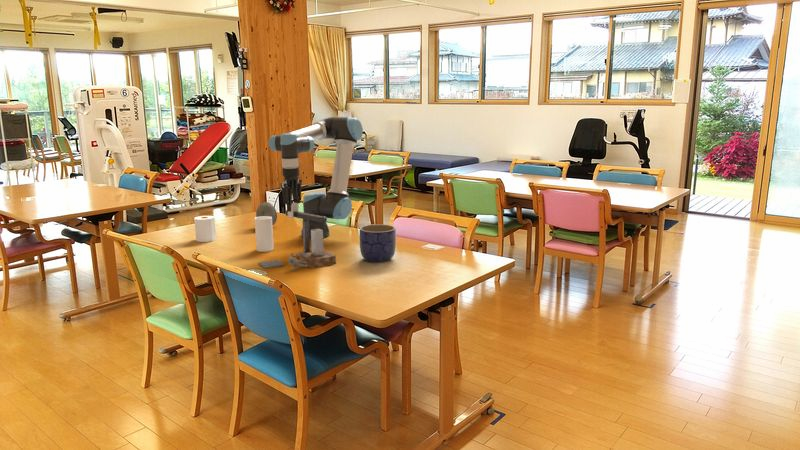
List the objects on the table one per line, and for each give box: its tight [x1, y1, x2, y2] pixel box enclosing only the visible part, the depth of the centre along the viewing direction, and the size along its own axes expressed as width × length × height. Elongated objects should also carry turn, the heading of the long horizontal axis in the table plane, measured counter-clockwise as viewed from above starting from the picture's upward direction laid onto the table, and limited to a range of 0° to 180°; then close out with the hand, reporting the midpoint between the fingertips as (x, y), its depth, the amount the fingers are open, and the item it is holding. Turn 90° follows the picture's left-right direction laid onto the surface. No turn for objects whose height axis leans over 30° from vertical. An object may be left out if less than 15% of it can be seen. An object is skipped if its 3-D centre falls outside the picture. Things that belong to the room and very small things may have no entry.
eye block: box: [299, 249, 337, 269], centre depth 255 cm, size 12×12×4 cm
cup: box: [254, 216, 275, 253], centre depth 276 cm, size 8×8×16 cm
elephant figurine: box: [287, 252, 308, 273], centre depth 246 cm, size 10×6×9 cm
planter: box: [358, 223, 397, 263], centre depth 258 cm, size 16×16×15 cm
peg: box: [310, 229, 325, 257], centre depth 254 cm, size 4×4×15 cm
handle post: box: [295, 220, 312, 259], centre depth 263 cm, size 8×8×17 cm
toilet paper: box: [193, 215, 217, 243], centre depth 296 cm, size 10×10×12 cm
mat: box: [257, 259, 286, 270], centre depth 252 cm, size 9×9×1 cm
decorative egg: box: [255, 201, 278, 227], centre depth 323 cm, size 12×12×15 cm
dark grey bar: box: [284, 209, 328, 223], centre depth 261 cm, size 3×28×4 cm, turn 50°
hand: (293, 217), depth 265 cm, fingers open, 3 cm apart
